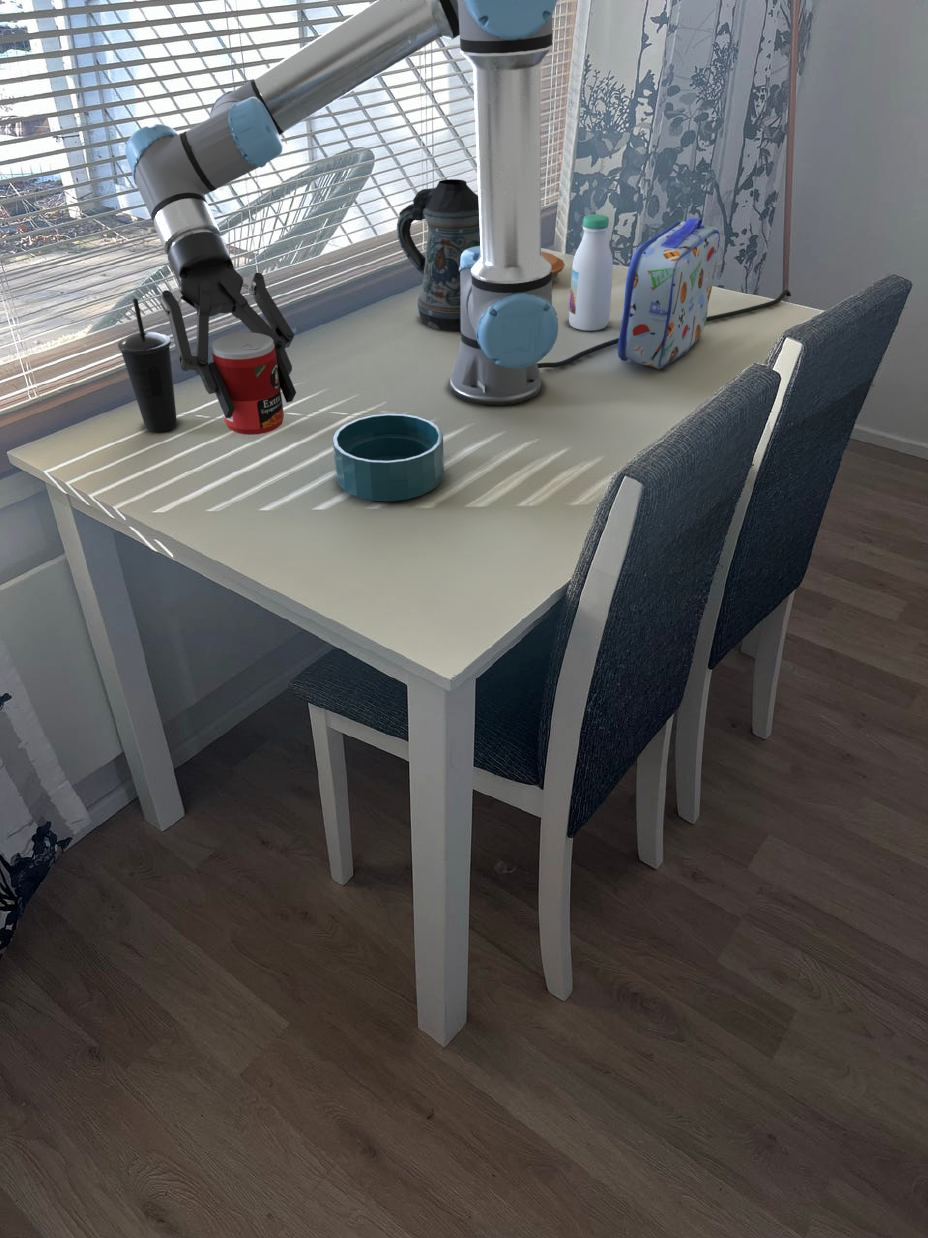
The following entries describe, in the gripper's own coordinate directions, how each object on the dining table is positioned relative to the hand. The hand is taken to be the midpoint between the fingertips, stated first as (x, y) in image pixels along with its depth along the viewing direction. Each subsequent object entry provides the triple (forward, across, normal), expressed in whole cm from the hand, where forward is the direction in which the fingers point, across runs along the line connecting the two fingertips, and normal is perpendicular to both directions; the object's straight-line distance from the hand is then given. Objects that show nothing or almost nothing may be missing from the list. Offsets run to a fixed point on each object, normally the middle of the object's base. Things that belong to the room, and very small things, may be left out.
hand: (261, 405), depth 123 cm
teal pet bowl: (+12, -17, -9) cm, 22 cm away
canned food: (0, 0, -5) cm, 5 cm away
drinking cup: (-13, +5, -34) cm, 36 cm away
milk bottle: (-11, -79, -33) cm, 86 cm away
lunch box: (+2, -82, -20) cm, 85 cm away
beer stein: (-24, -59, -45) cm, 78 cm away
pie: (-31, -86, -53) cm, 105 cm away
